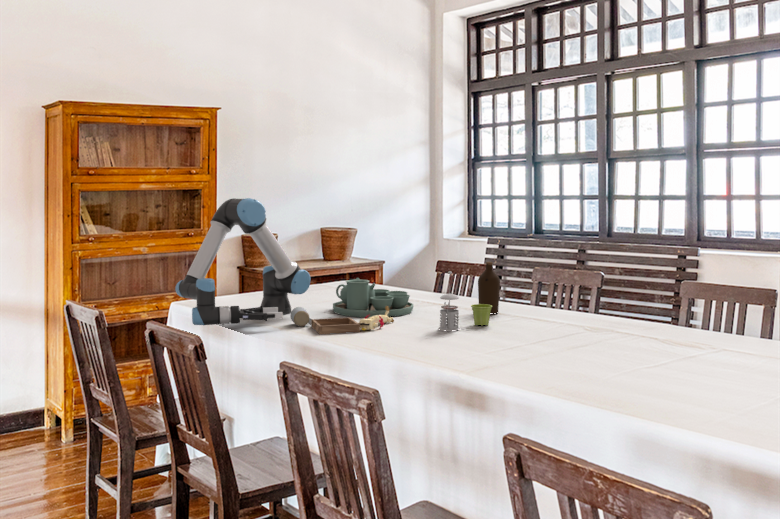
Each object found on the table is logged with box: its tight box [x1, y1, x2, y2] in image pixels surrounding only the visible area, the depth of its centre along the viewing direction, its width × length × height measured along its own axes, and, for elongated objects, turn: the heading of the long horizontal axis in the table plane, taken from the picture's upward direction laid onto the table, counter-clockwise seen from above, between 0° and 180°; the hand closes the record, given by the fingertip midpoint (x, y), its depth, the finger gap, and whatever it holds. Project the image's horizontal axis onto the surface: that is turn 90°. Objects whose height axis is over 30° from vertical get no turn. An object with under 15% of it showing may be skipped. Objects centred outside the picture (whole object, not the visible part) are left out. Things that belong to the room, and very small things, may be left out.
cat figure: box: [358, 306, 395, 331], centre depth 298 cm, size 10×9×25 cm
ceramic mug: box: [290, 306, 312, 327], centre depth 300 cm, size 11×8×8 cm
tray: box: [311, 316, 361, 335], centre depth 291 cm, size 17×17×3 cm
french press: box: [437, 270, 461, 332], centre depth 290 cm, size 10×12×25 cm
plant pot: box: [470, 303, 492, 326], centre depth 302 cm, size 9×9×9 cm
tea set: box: [332, 277, 414, 318], centre depth 339 cm, size 40×40×16 cm
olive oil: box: [477, 261, 501, 313], centre depth 333 cm, size 11×11×25 cm
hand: (280, 312), depth 297 cm, fingers open, 13 cm apart
